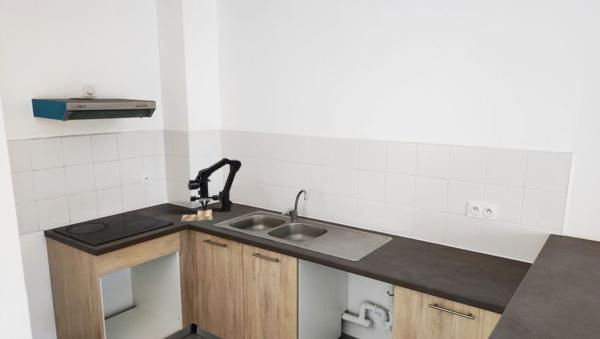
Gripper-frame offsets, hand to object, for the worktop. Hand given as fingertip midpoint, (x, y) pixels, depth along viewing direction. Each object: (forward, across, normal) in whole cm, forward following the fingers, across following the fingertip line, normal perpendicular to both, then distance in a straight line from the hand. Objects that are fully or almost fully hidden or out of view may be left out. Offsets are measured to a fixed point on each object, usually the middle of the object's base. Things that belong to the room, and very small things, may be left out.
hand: (204, 210), depth 288 cm
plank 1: (+4, +10, +2) cm, 11 cm away
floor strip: (+4, +5, +10) cm, 12 cm away
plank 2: (+3, 0, +2) cm, 3 cm away
